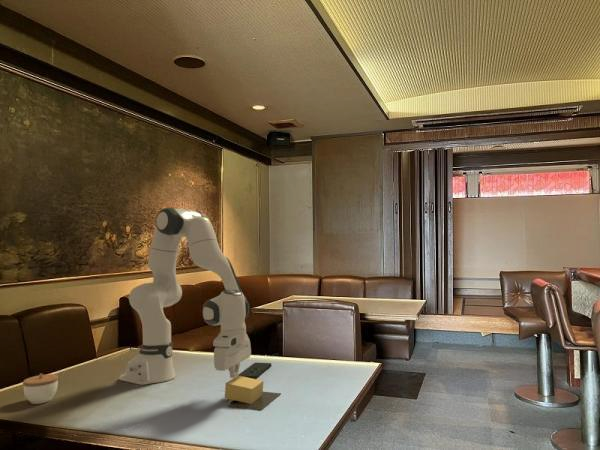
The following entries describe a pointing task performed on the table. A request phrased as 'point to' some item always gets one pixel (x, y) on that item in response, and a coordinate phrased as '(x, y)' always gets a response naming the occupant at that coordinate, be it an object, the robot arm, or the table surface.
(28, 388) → the lidded jar
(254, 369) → the smart home device
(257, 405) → the topple stop
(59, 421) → the table surface
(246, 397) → the mustard block
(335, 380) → the table surface
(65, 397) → the table surface
